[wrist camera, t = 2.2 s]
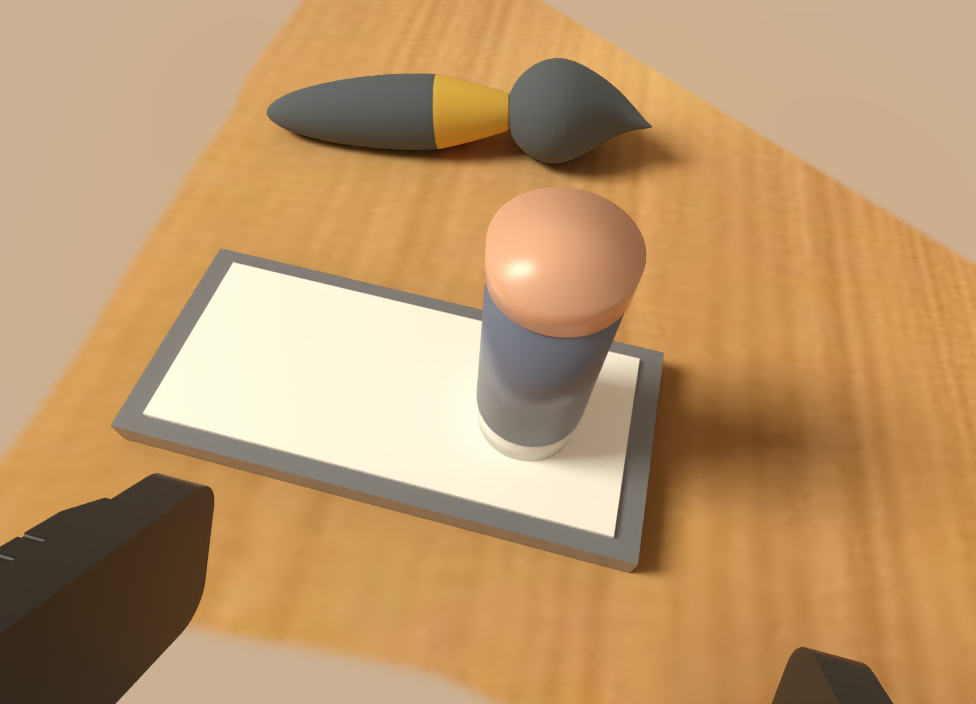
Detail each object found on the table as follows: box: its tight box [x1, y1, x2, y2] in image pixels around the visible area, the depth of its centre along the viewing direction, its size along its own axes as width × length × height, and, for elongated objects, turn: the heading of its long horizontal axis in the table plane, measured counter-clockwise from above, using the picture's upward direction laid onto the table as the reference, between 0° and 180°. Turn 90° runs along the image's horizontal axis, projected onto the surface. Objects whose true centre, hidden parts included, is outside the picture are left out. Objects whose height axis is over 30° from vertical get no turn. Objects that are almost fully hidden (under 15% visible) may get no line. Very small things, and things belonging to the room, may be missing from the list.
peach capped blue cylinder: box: [476, 187, 646, 461], centre depth 21 cm, size 4×4×10 cm
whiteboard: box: [111, 249, 664, 573], centre depth 26 cm, size 20×9×1 cm, turn 76°
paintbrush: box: [267, 58, 652, 164], centre depth 33 cm, size 20×5×5 cm, turn 93°
